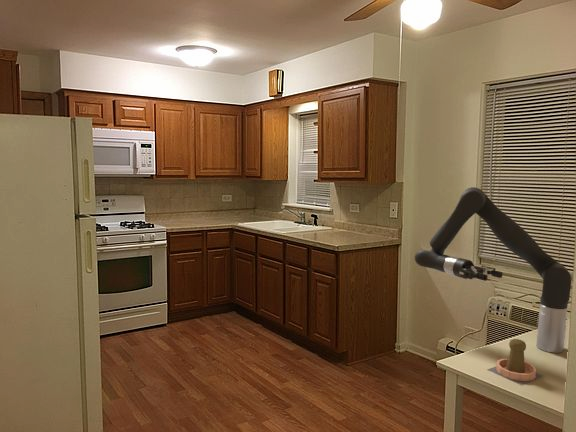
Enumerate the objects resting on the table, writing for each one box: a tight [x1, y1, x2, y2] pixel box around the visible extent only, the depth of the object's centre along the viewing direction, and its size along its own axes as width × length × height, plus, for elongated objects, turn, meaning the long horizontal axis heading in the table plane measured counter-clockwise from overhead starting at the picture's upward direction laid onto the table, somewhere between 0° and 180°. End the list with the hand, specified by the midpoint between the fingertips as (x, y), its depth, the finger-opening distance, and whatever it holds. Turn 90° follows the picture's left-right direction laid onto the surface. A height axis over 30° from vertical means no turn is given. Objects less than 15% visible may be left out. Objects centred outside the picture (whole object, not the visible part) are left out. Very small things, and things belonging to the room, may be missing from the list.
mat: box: [486, 366, 546, 386], centre depth 164 cm, size 13×13×1 cm
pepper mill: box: [506, 338, 527, 373], centre depth 163 cm, size 6×6×11 cm
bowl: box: [495, 358, 537, 382], centre depth 164 cm, size 12×12×2 cm
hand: (494, 276), depth 176 cm, fingers open, 8 cm apart
